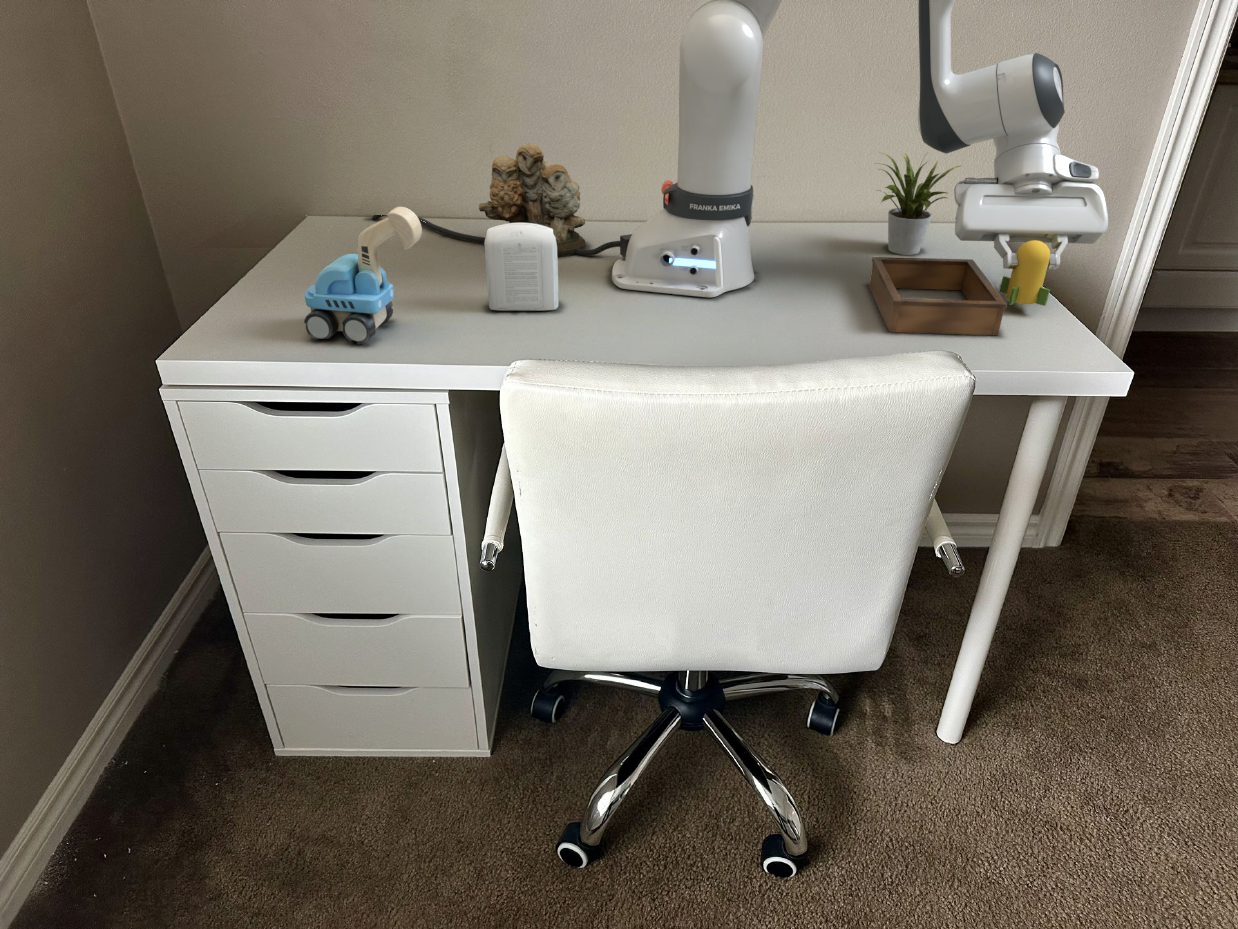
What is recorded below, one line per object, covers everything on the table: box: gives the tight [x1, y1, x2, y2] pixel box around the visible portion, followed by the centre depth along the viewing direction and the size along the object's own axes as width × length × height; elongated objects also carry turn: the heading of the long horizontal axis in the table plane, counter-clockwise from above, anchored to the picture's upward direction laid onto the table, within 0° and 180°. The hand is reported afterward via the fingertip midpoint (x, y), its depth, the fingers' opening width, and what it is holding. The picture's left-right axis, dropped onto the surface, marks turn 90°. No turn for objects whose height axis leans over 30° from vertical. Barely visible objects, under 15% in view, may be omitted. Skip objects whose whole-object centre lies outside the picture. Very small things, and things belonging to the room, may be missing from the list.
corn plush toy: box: [998, 240, 1051, 307], centre depth 124 cm, size 5×5×8 cm
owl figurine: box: [478, 142, 587, 258], centre depth 147 cm, size 18×12×17 cm, turn 88°
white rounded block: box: [483, 222, 560, 311], centre depth 125 cm, size 10×4×12 cm, turn 92°
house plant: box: [874, 151, 961, 256], centre depth 146 cm, size 14×14×16 cm
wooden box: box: [868, 256, 1008, 336], centre depth 126 cm, size 15×18×5 cm
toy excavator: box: [303, 206, 423, 345], centre depth 116 cm, size 9×17×17 cm, turn 80°
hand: (1032, 267), depth 123 cm, fingers closed on corn plush toy, 4 cm apart
